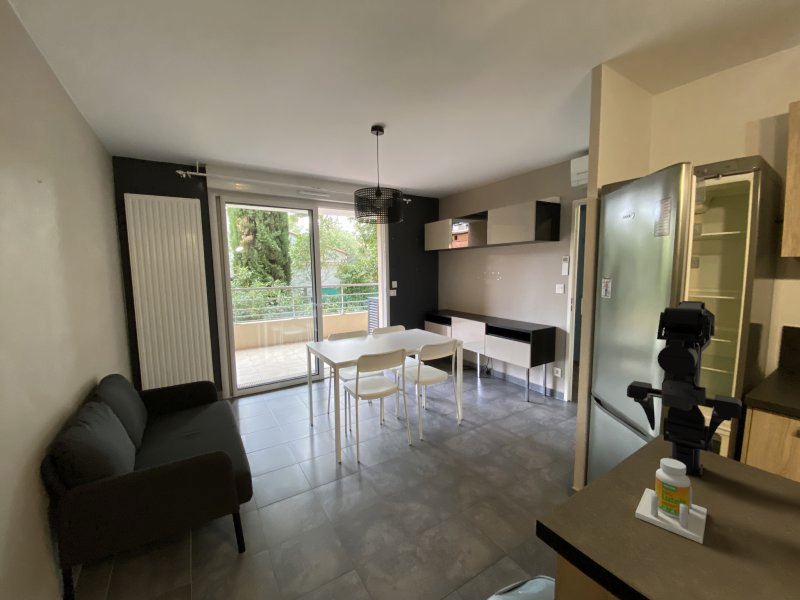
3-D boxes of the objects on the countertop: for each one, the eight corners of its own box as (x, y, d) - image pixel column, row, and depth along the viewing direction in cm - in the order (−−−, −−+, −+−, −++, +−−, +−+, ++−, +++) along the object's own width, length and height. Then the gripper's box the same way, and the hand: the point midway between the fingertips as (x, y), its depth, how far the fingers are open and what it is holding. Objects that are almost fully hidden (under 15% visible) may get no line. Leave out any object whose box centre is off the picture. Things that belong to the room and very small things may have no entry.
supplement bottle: (657, 514, 67) (659, 466, 66) (652, 498, 71) (653, 453, 71) (693, 523, 64) (694, 473, 64) (684, 506, 69) (686, 459, 69)
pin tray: (646, 492, 75) (646, 470, 75) (706, 513, 68) (707, 489, 68) (635, 516, 68) (635, 492, 67) (702, 543, 60) (703, 517, 60)
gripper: (621, 365, 74) (620, 435, 75) (743, 382, 61) (739, 467, 62) (633, 356, 82) (631, 420, 83) (743, 370, 69) (739, 445, 69)
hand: (679, 436), depth 74 cm, fingers open, 9 cm apart
